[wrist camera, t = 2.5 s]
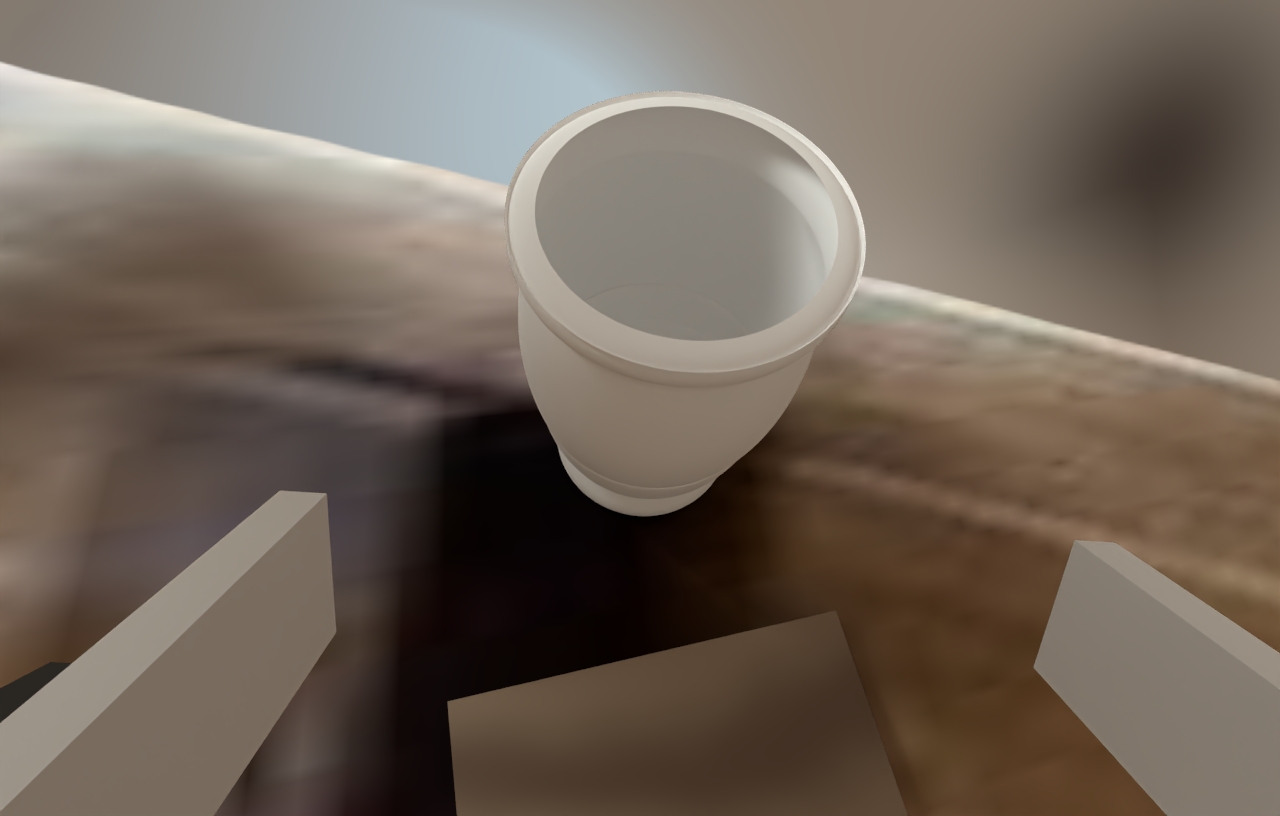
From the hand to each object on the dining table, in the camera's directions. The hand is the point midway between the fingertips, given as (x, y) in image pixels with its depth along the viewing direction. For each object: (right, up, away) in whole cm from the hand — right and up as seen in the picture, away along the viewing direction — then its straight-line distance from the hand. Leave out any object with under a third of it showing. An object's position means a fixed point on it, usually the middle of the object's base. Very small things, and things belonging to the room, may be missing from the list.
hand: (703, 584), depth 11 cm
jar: (-1, +2, +20) cm, 20 cm away
